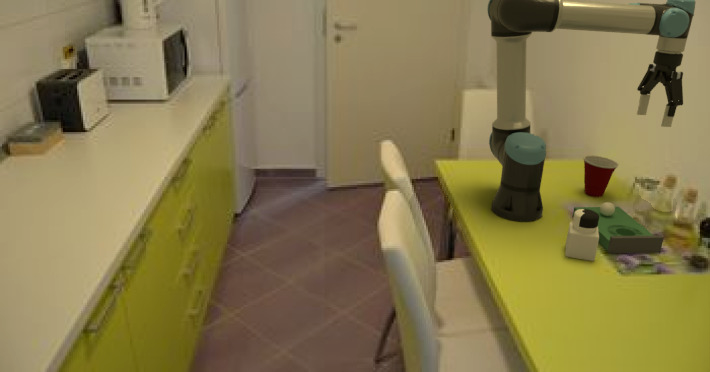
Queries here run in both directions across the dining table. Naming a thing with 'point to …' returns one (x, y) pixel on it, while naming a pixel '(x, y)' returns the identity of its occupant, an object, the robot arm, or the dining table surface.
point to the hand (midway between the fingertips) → (653, 120)
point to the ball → (607, 209)
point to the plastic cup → (597, 174)
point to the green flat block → (624, 233)
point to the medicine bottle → (583, 235)
